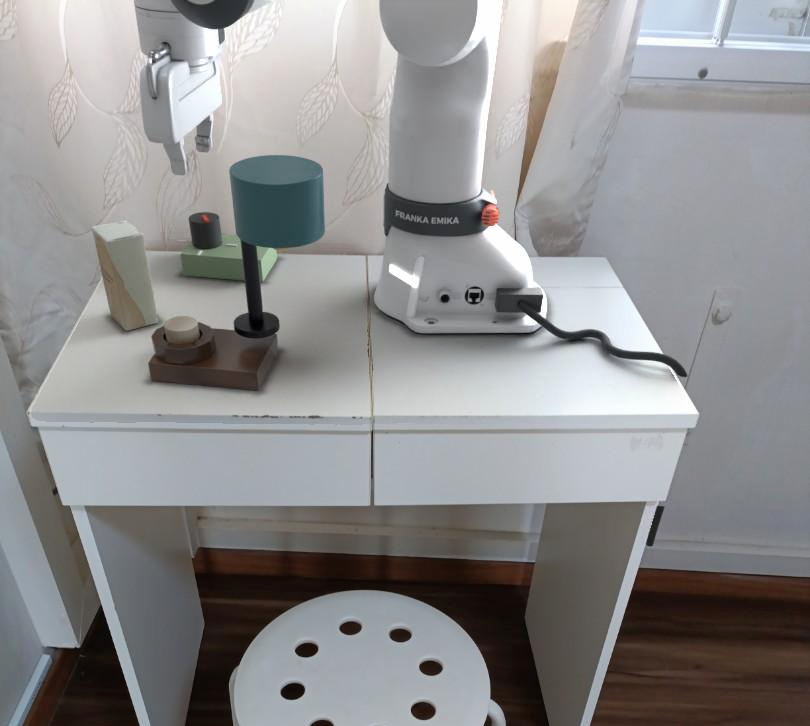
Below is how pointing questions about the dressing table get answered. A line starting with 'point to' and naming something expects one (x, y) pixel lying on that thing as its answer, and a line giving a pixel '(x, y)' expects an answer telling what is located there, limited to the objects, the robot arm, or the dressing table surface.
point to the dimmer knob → (205, 230)
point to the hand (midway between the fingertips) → (193, 161)
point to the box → (125, 274)
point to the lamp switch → (181, 330)
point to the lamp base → (213, 359)
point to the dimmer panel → (223, 260)
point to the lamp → (273, 221)
